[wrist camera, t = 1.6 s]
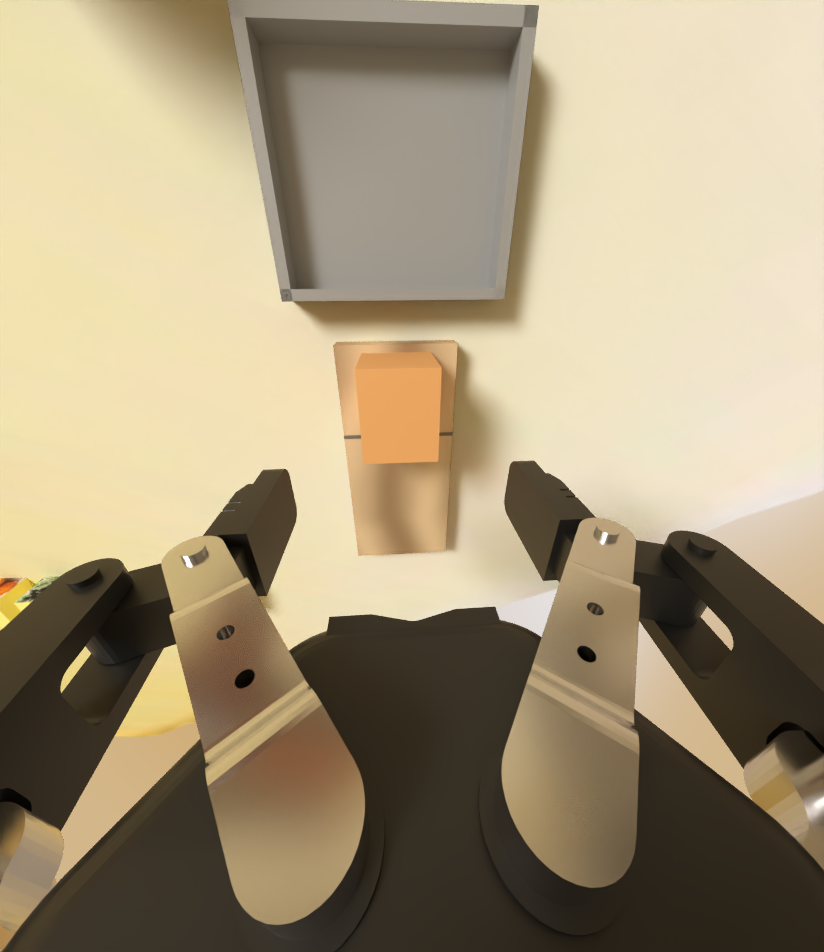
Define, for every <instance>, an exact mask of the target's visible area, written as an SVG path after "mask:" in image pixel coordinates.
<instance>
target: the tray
mask: <svg viewBox="0 0 824 952" xmlns="http://www.w3.org/2000/svg"><path fill="white" fill-rule="evenodd" d="M227 3H228V8H229V14H230V19H231V25H232V30H233V36H234V41H235V46H236V52H237V57H238V63H239V68H240V74H241V79H242V85H243V90H244V96H245V101H246V107H247V112H248V118H249V123H250V129H251V134H252V140H253V145H254V151H255V156H256V162H257V167H258V173H259V178H260V184H261V189H262V194H263V200H264V205H265V211H266V216H267V222H268V227H269V233H270V238H271V244H272V249H273V255H274V260H275V266H276V271H277V277H278V282H279V288H280V293H281V299H282V301H378V300H483V299H504V296H505V288H506V279H507V271H508V262H509V254H510V245H511V237H512V228H513V220H514V212H515V203H516V195H517V186H518V178H519V169H520V161H521V153H522V144H523V136H524V127H525V119H526V110H527V102H528V94H529V85H530V77H531V68H532V60H533V51H534V43H535V35H536V26H537V18H538V9H539V6H537V5H511V4H485V3H460V2H434V1H409V0H227Z"/></svg>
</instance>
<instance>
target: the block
mask: <svg viewBox="0 0 824 952" xmlns="http://www.w3.org/2000/svg"><path fill="white" fill-rule="evenodd" d="M441 374H442V367H441V366H440V364H439V363H438V362H437V360H436V359H435V357H434V356H433V354H432V353H431V352H397V353H361V356H360V358H359V360H358V363H357V365H356V368H355V378H356V389H357V400H358V411H359V422H360V432H361V443H362V454H363V464H385V463H413V462H438V454H439V427H440V401H441Z"/></svg>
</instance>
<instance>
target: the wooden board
mask: <svg viewBox="0 0 824 952" xmlns="http://www.w3.org/2000/svg"><path fill="white" fill-rule="evenodd" d="M333 347H334V356H335V364H336V372H337V381H338V389H339V397H340V406H341V414H342V422H343V430H344V439H345V447H346V455H347V464H348V472H349V480H350V489H351V497H352V505H353V514H354V522H355V530H356V539H357V547H358V555H359V556H363V555H383V554H402V553H422V552H442V551H445V549H446V532H447V515H448V499H449V482H450V465H451V448H452V434H453V432H452V431H453V414H454V398H455V381H456V364H457V347H458V343H457V342H455V341H454V340H435V341H373V342H336V343H335V344H334V345H333ZM397 352H431V353H432V354H433V356H434V357H435V359H436V360H437V362H438V363H439V364H440V366H441V367H442V374H441V401H440V427H439V454H438V462H413V463H385V464H363V454H362V443H361V432H360V422H359V411H358V400H357V389H356V378H355V368H356V365H357V363H358V360H359V358H360V356H361V353H397Z"/></svg>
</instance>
